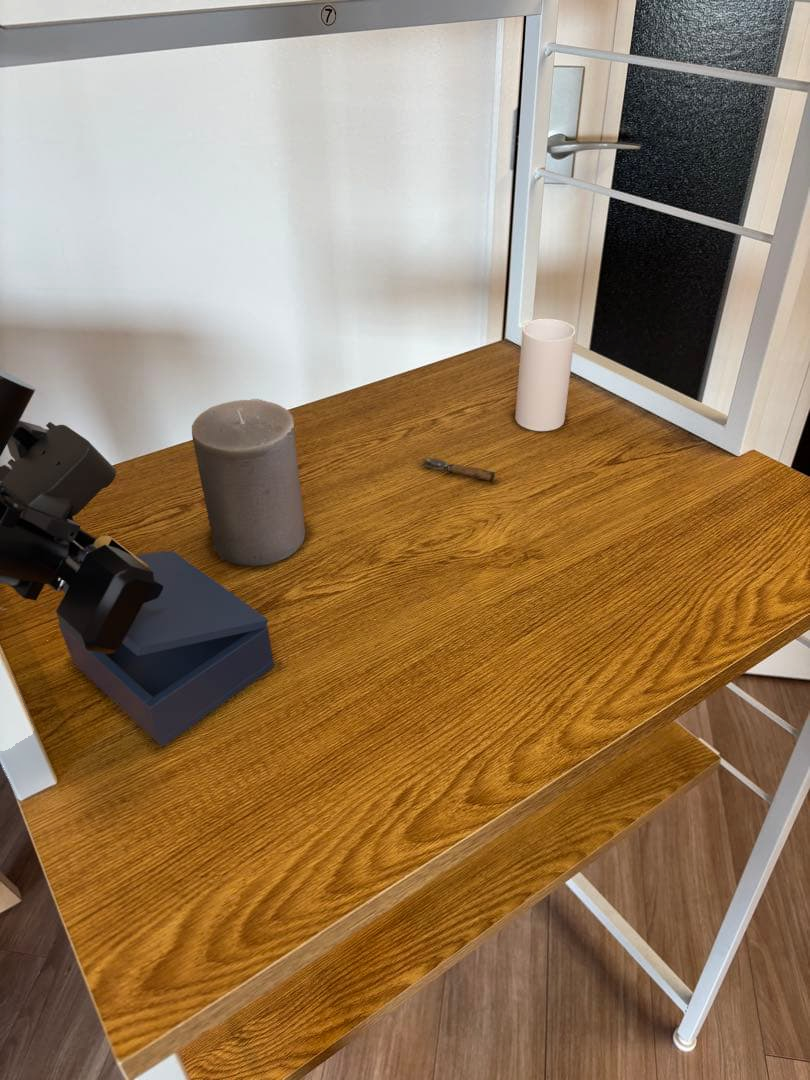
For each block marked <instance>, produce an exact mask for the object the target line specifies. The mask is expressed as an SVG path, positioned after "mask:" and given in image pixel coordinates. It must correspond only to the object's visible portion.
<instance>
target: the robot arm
mask: <svg viewBox="0 0 810 1080" xmlns="http://www.w3.org/2000/svg"><path fill="white" fill-rule="evenodd" d="M35 392H36V388H35V387H33V386H32V385H30V384H29V383H27V382H26V381H24V380H22V379H21V378H19V377H17V376H15V375H13V374H12V373H10V372H8V371H6V370H4V369H2V368H0V457H1V456H2V454H3V453H4V451H5V449H6V447H7V449H8V453H9V454H10V457H12V458H10V459H9V460H8V461H7V464H3V465H1V466H0V584H2V585H6V586H10V587H11V588H12V589H13V590H14V591H15V592H16V593H17V594H18V595H19V596H20V597H22V598H23V599H26V600H31V601H35V602H36V601H37V599H38V598H39V597H40V596H39V595H40V594H41V592H42V590H43V589H44V587H45V585H48V586H49V587H50V588H51V589H52V590H53V591H54V592H57V593H60V592H63V591H62V589H63V588H64V586H65V583H67V584H68V585H69V588H68V590H67V592H66V593H64V595H63V597H62V599H61V600H60V603H59V605H58V607H57V608H56V611H55V614H56V616H57V619H58V621H59V623H60V624H61V626H62V627H63V628H64V629H65V630H66V631H67V632H68V633H69V634H70V635H71V636H72V637H73V638H74V639H75V640H77V641H78V642H79V643H80V644H81V645H82V646H83V647H84V648H85V649H86V650H88V651H94V652H100V653H107V654H110V653H113V652H116V651H118V649H119V648H120V646H121V644H122V642H123V640H124V638H125V637H126V635H127V633H128V631H129V629H130V627H131V626H132V624H133V622H134V620H135V618H136V616H137V614H138V613H139V611H140V609H141V607H142V605H143V603H146V602H149V601H152V600H154V599H157V598H158V597H159V596H160V594H161V592H162V590H163V585H161V584H160V583H158V582H156V581H155V580H154V573H153V572H152V571H151V570H150V569H148V568H147V567H146V566H145V565H143V564H142V563H141V562H140V561H138V560H137V559H136V558H134V557H133V556H132V555H131V554H130V553H129V552H128V551H127V550H128V549H127V550H125V549H124V548H123V547H124V546H123V547H121V546H120V545H119V544H120V543H119V542H118V543H119V544H118V543H116V542H115V541H116V540H115V539H114V538H113V539H114V540H115V541H114V540H113V539H112V540H111V541H110V543H109V545H103V546H101V547H99V548H98V547H97V546H95V545H93V544H94V542H95V541H96V539H98V537H96V536H94V535H92V534H91V533H89V532H88V531H85V530H84V529H83V528H82V525H80V524H79V523H77V522H76V521H75V520H74V518H73V517H75V516H76V515H78V514H79V513H80V512H81V511H82V510H83V509H85V507H86V506H87V505H88V504H89V503H90V502H91V501H92V500H93V499H94V498H95V497H96V496H97V495H98V494H99V493H100V492H101V491H102V490H103V489H107V488H108V487H109V486H110V485H112V483H113V482H114V480H115V478H116V476H117V470H116V468H115V467H114V466H113V465H112V464H111V463H110V461H108V460H107V459H106V458H105V456H103V454H101V453H100V452H99V450H98V449H97V448H96V447H95V446H94V444H92V443H91V442H90V441H89V440H88V439H86V438H85V437H83V435H81V434H80V433H78V432H76V431H75V430H73V429H71V428H70V427H69V426H68V425H66V424H57V425H55V424H54V423H53V422H52V421H49V422H48V423H47V424H46V425H45V426H46V428H43V427H42V426H41V425H37V424H35V423H34V424H33V423H30V422H28V421H23V420H21V418H22V417H23V415H24V413H25V411H26V409H27V408H28V405H29V403H30V401H31V399H32V398H33V396H34V394H35Z"/></svg>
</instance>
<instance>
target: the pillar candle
mask: <svg viewBox="0 0 810 1080" xmlns="http://www.w3.org/2000/svg"><path fill="white" fill-rule="evenodd" d="M293 415H294V414H291V412H290V410H289V409H286V408H285V407H283V406H282V405H280V404H277V403H274V402H271V401H267V400H263V399H259V398H251V399H240V400H233V401H232V400H231V401H227V402H223V403H220V404H217V405H213V406H211V407H208V409H206V410H204V411H203V412H201V413H200V414H199V415H198V416H197V417H196V418H195V419H194V421H193V423H192V425H191V436H192V443H193V448H194V453H195V458H196V462H197V469H198V470H197V471H198V472H199V473H198V474H199V479H200V485H201V489H202V493H203V498H204V503H205V508H206V514H207V520H208V526H209V528H210V532H211V537H212V540H213V541H212V547H213V549H214V551H215V553H216V554H217V556H218V557H220V559H223V560H224V561H226V562H227V563H228V562H229V563H232V564H234V565H238V566H245V567H258V566H259V567H260V566H268V565H272V564H276V563H278V562H281V561H283V560H284V559H287V558H289V557H291V556H292V555H293V554H294V553H296V552H297V551H298V550H299V548H301V546H302V545H303V544H304V541H305V538H306V525H305V516H304V507H303V497H302V489H301V487H302V486H301V478H300V477H301V476H300V469H299V461H298V452H297V443H296V436H295V421H294V416H293Z"/></svg>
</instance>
